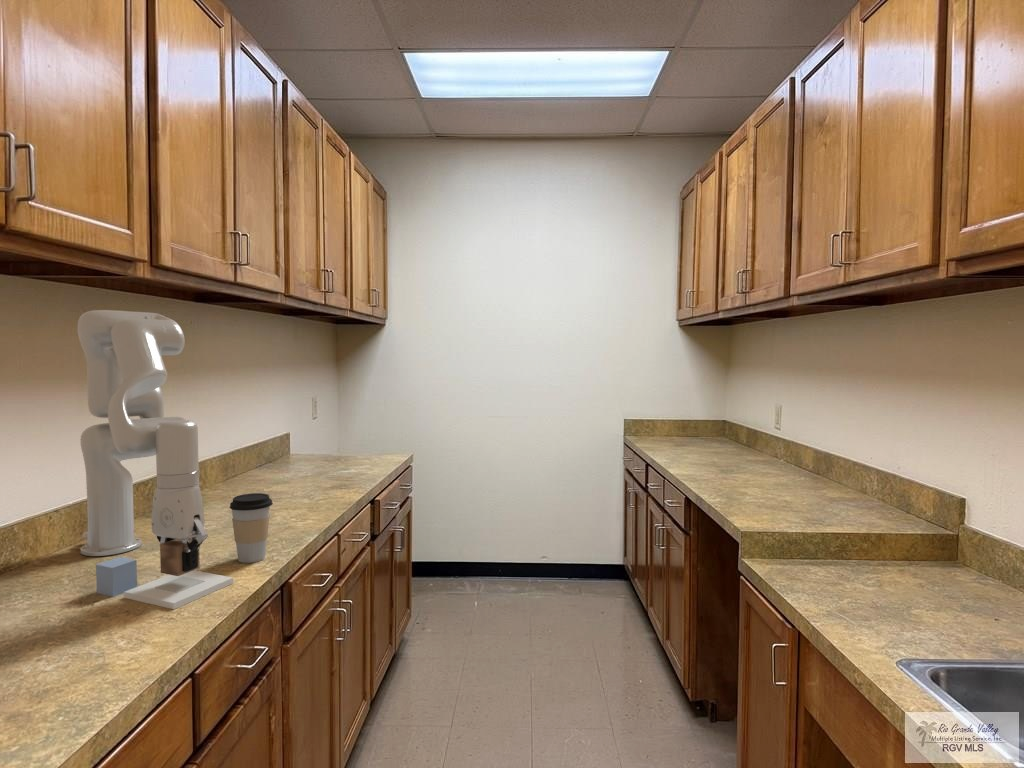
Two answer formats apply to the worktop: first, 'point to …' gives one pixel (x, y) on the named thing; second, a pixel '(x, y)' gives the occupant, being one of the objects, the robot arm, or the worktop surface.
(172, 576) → the plate
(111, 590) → the block blue
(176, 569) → the block walnut
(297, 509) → the worktop surface
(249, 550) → the coffee cup
